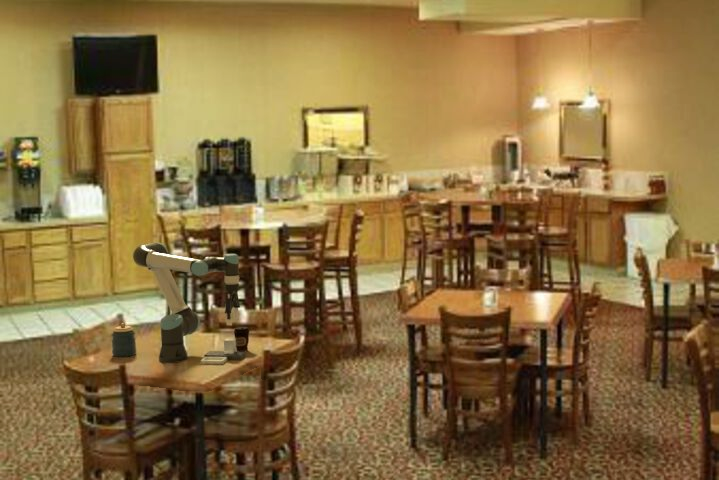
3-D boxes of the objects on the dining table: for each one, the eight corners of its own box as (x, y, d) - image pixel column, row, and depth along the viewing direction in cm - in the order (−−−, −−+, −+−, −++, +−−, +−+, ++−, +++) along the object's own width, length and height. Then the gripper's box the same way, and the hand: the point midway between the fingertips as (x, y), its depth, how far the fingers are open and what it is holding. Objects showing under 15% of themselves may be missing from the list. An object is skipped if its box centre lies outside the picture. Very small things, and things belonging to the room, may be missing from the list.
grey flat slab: (204, 359, 534) (204, 354, 534) (209, 355, 543) (209, 351, 543) (240, 360, 531) (240, 355, 531) (245, 356, 540) (245, 351, 540)
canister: (107, 355, 550) (105, 323, 548) (127, 350, 560) (125, 319, 558) (121, 358, 542) (119, 326, 540) (141, 354, 551) (139, 322, 549)
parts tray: (200, 364, 524) (200, 360, 524) (205, 360, 533) (205, 356, 533) (222, 364, 523) (222, 361, 522) (227, 360, 531) (227, 356, 531)
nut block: (224, 359, 535) (223, 340, 534) (227, 356, 540) (226, 338, 538) (233, 359, 534) (232, 340, 533) (236, 356, 539) (235, 338, 538)
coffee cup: (247, 353, 547) (246, 329, 546) (232, 352, 549) (231, 329, 547) (251, 349, 556) (251, 326, 554) (237, 349, 557) (236, 326, 556)
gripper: (232, 287, 520) (233, 327, 523) (244, 279, 544) (245, 317, 547) (218, 287, 521) (219, 327, 524) (231, 279, 545) (231, 317, 548)
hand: (232, 322), depth 535 cm, fingers open, 13 cm apart
